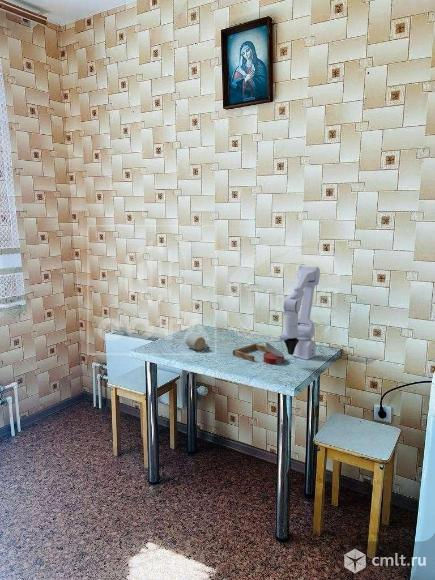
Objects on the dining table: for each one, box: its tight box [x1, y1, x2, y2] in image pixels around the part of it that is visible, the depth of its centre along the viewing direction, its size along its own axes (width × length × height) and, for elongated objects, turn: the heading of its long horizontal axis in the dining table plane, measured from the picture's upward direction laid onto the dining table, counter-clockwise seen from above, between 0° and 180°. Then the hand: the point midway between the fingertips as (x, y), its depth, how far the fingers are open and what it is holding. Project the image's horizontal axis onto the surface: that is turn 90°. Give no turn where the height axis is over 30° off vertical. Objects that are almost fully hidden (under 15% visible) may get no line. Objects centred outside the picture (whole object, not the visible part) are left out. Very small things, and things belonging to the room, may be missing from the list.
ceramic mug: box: [185, 332, 209, 351], centre depth 228 cm, size 11×8×8 cm
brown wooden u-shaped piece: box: [232, 343, 270, 362], centre depth 218 cm, size 13×16×2 cm
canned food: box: [263, 342, 285, 365], centre depth 208 cm, size 11×10×10 cm
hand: (290, 354), depth 200 cm, fingers closed
